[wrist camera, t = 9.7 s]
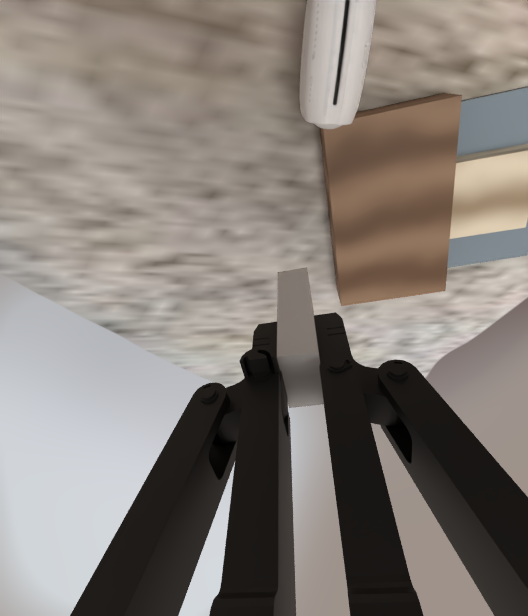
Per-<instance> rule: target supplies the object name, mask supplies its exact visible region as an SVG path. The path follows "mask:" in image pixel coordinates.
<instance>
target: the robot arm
mask: <svg viewBox="0 0 528 616" xmlns="http://www.w3.org/2000/svg"><path fill="white" fill-rule="evenodd" d="M252 346H253V347H252V349H251V350H249V351H248V352H246V353H245V354H244V355H243V356H242V357H241V359H240V364H241V367H242V370H243V373H244V376H245V378H244V379H243V380H242V381H241V382H239V383H237V384H235V385H233V386H230V387H227V388H225V387H224V386H223V385H222V384H220V383H209V384H206V385H203V386H202V387H200V388H199V389H197V391H196V392H195V393H194V394H193V396H192V398H191V400H190V402H189V403H188V405H187V407H186V409H185V411H184V413H183V414H182V416H181V418H180V420H179V421H178V423H177V425H176V427H175V428H174V430H173V432H172V434H171V436H170V437H169V439H168V441H167V443H166V445H165V446H164V448H163V450H162V452H161V454H160V455H159V457H158V459H157V461H156V463H155V464H154V466H153V468H152V470H151V472H150V473H149V475H148V477H147V479H146V481H145V482H144V484H143V486H142V488H141V490H140V491H139V493H138V495H137V497H136V498H135V500H134V502H133V504H132V506H131V507H130V509H129V511H128V513H127V515H126V516H125V518H124V520H123V522H122V524H121V526H120V527H119V529H118V531H117V533H116V534H115V536H114V538H113V540H112V541H111V543H110V545H109V547H108V549H107V550H106V552H105V554H104V556H103V558H102V559H101V561H100V563H99V565H98V567H97V569H96V570H95V572H94V574H93V576H92V578H91V579H90V581H89V583H88V585H87V586H86V588H85V590H84V592H83V594H82V595H81V597H80V599H79V601H78V602H77V604H76V606H75V608H74V610H73V611H72V613H71V615H70V616H178V615H179V612H180V609H181V606H182V604H183V601H184V598H185V596H186V593H187V590H188V587H189V585H190V582H191V579H192V576H193V574H194V571H195V568H196V566H197V563H198V560H199V557H200V555H201V552H202V549H203V546H204V544H205V541H206V538H207V536H208V533H209V530H210V527H211V524H212V522H213V519H214V517H215V514H216V511H217V508H218V506H219V503H220V500H221V497H222V495H223V492H224V489H225V486H226V483H227V480H228V478H229V476H230V472H231V470H232V467H233V465H234V462H235V468H234V476H233V485H232V494H231V504H230V512H229V520H228V530H227V538H226V547H225V556H224V565H223V573H222V582H221V588H220V592H219V594H218V595H217V596H216V597H215V599H214V600H213V603H212V606H211V611H210V616H296V599H295V568H294V536H293V502H292V471H291V437H290V417H289V413H288V405H289V408H291V407H302V406H311V405H320V404H324V408H325V416H326V424H327V432H328V439H329V447H330V455H331V463H332V471H333V478H334V485H335V494H336V501H337V509H338V517H339V525H340V533H341V541H342V548H343V556H344V564H345V572H346V580H347V588H348V598H349V607H350V616H423V613H422V609H421V606H420V602H419V599H418V596H417V593H416V591H415V590H414V588H413V586H412V583H411V580H410V576H409V572H408V568H407V564H406V560H405V556H404V553H403V549H402V545H401V541H400V537H399V533H398V529H397V525H396V522H395V517H394V513H393V509H392V505H391V502H390V498H389V494H388V490H387V486H386V482H385V478H384V474H383V470H382V466H381V462H380V458H379V454H378V450H377V447H376V442H375V439H374V435H373V431H372V427H371V423H374V424H380V425H381V428H382V429H383V431H384V433H385V434H386V436H387V438H388V439H389V441H390V443H391V444H392V446H393V448H394V449H395V451H396V453H397V454H398V456H399V458H400V459H401V461H402V463H403V464H404V466H405V468H406V469H407V471H408V473H409V474H410V476H411V477H412V479H413V481H414V483H415V484H416V486H417V487H418V489H419V491H420V493H421V494H422V496H423V498H424V499H425V501H426V503H427V504H428V506H429V507H430V509H431V511H432V513H433V514H434V516H435V517H436V519H437V521H438V523H439V524H440V526H441V527H442V529H443V531H444V532H445V534H446V536H447V537H448V539H449V541H450V542H451V544H452V546H453V547H454V549H455V551H456V552H457V554H458V556H459V557H460V559H461V561H462V562H463V564H464V566H465V567H466V569H467V571H468V572H469V574H470V575H471V577H472V579H473V580H474V582H475V584H476V586H477V587H478V589H479V591H480V592H481V594H482V596H483V597H484V599H485V601H486V602H487V604H488V606H489V607H490V609H491V611H492V612H493V614H494V616H528V497H527V496H526V495H525V493H524V492H523V491H522V490H521V489H520V488H519V487H518V485H517V484H516V483H515V482H514V481H513V480H512V478H511V477H510V476H509V475H508V474H507V473H506V472H505V470H504V469H503V468H502V467H501V466H500V465H499V463H498V462H497V461H496V460H495V459H494V458H493V456H492V455H491V454H490V453H489V452H488V451H487V449H486V448H485V447H484V446H483V445H482V444H481V443H480V442H479V440H478V439H477V438H476V437H475V436H474V434H473V433H472V432H471V431H470V430H469V429H468V428H467V426H466V425H465V424H464V423H463V422H462V421H461V419H460V418H459V417H458V416H457V415H456V414H455V412H454V411H453V410H452V409H451V408H450V407H449V405H448V404H447V403H446V402H445V401H444V400H443V399H442V397H441V396H440V395H439V394H438V393H437V392H436V391H435V389H434V388H433V387H432V386H431V385H430V384H429V382H428V381H427V380H426V379H425V378H424V376H423V375H422V374H421V373H420V372H419V371H418V370H417V368H416V367H415V366H413V365H412V364H411V363H409V362H406V361H403V360H390V361H387V362H385V363H383V364H382V365H381V366H380V367H379V368H370V367H365V366H363V365H360V364H358V363H357V362H356V361H355V360H354V359H353V357H352V355H351V351H350V347H349V343H348V339H347V335H346V331H345V328H344V324H343V320H342V318H341V317H340V316H339V315H338V314H337V313H329V314H322V315H315V316H314V311H313V304H312V298H311V291H310V285H309V278H308V272H307V268H301V269H295V270H289V271H283V272H278V305H277V322H271V323H264V324H259V325H258V326H257V328H256V329H255V331H254V335H253V345H252Z"/></svg>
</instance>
